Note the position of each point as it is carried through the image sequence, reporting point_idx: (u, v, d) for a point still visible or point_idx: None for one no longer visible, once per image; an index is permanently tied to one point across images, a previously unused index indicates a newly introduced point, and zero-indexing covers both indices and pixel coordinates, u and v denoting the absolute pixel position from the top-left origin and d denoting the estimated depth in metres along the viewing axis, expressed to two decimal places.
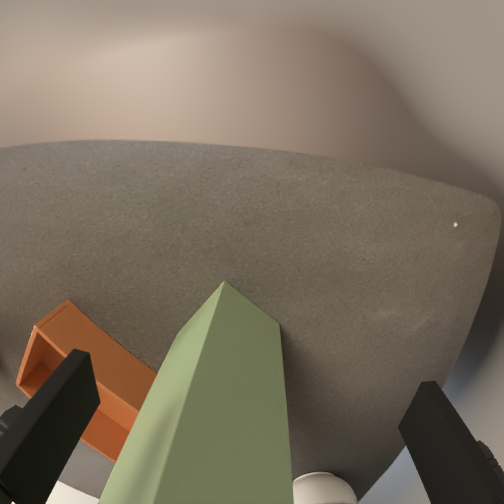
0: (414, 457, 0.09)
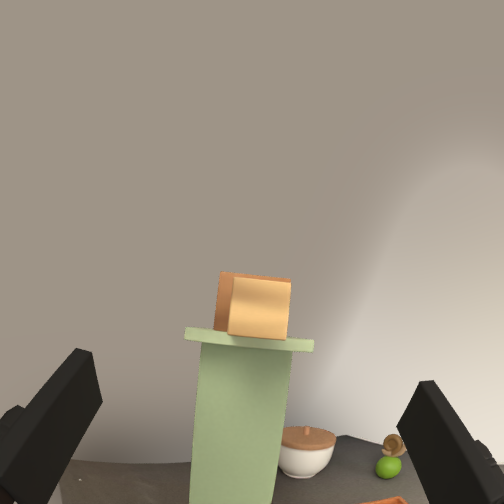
0: (413, 456, 0.09)
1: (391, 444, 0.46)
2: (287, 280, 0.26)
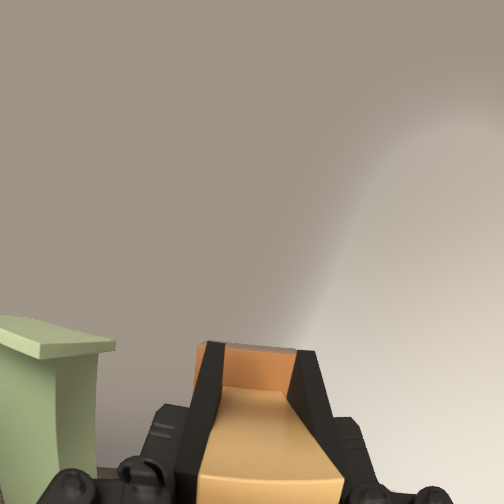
0: None
1: None
2: None
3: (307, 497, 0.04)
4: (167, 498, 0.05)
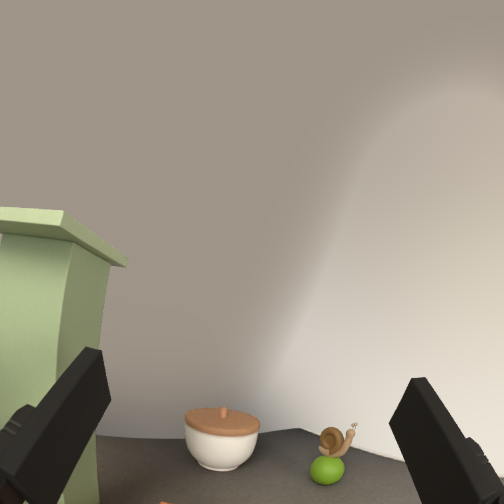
0: (405, 453, 0.09)
1: (329, 440, 0.39)
2: None
3: None
4: None
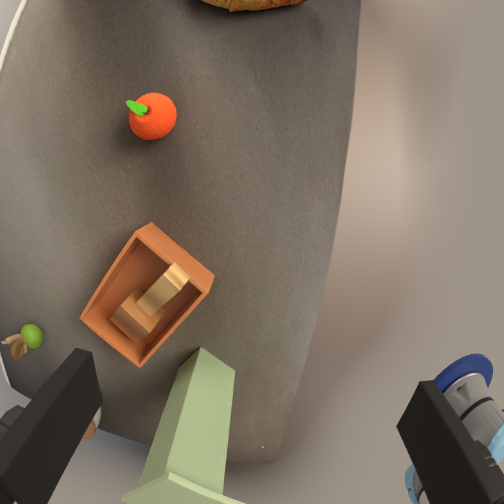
0: (413, 456, 0.09)
1: (18, 350, 0.45)
2: (122, 306, 0.41)
3: (169, 276, 0.38)
4: None
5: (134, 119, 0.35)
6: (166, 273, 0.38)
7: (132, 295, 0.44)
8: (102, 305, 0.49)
